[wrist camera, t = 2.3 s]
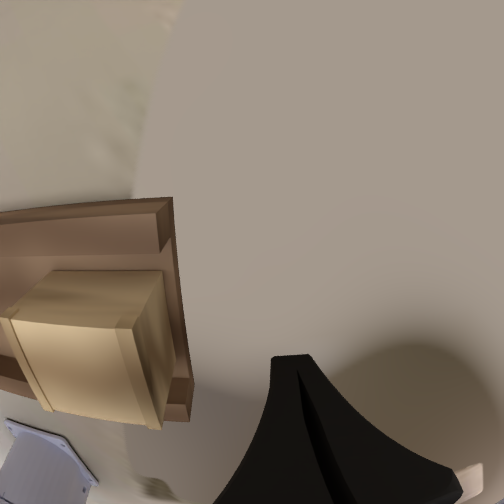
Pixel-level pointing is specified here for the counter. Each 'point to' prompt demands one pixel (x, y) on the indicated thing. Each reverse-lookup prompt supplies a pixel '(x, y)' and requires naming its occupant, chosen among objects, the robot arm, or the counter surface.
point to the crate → (96, 344)
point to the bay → (94, 269)
